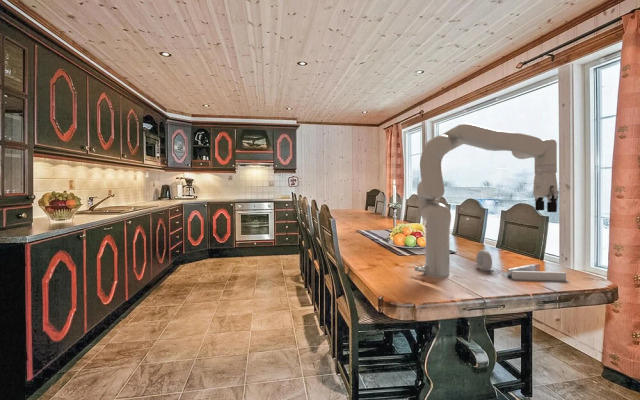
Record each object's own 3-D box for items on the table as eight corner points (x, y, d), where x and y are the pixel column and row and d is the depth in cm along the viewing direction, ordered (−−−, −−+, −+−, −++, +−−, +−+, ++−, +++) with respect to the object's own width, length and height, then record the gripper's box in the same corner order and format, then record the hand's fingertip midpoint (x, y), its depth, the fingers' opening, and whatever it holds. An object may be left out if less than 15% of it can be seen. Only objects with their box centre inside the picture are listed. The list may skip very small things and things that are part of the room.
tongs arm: (510, 277, 128) (510, 270, 128) (506, 276, 130) (506, 268, 129) (540, 271, 136) (540, 264, 136) (535, 270, 138) (535, 263, 138)
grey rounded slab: (493, 274, 137) (493, 252, 137) (485, 275, 137) (485, 252, 137) (482, 268, 147) (482, 247, 147) (474, 269, 147) (474, 247, 147)
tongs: (511, 283, 124) (511, 273, 124) (499, 275, 136) (499, 265, 136) (570, 285, 121) (570, 274, 121) (552, 276, 133) (553, 266, 133)
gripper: (525, 171, 140) (526, 209, 141) (546, 169, 123) (546, 213, 124) (544, 170, 139) (545, 209, 139) (567, 168, 122) (568, 212, 122)
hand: (545, 211), depth 131 cm, fingers open, 9 cm apart
